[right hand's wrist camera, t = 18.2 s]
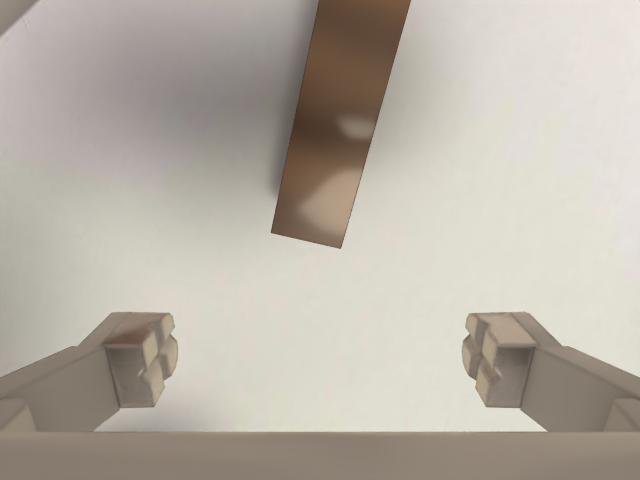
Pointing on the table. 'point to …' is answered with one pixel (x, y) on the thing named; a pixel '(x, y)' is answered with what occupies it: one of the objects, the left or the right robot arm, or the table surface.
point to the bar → (337, 116)
